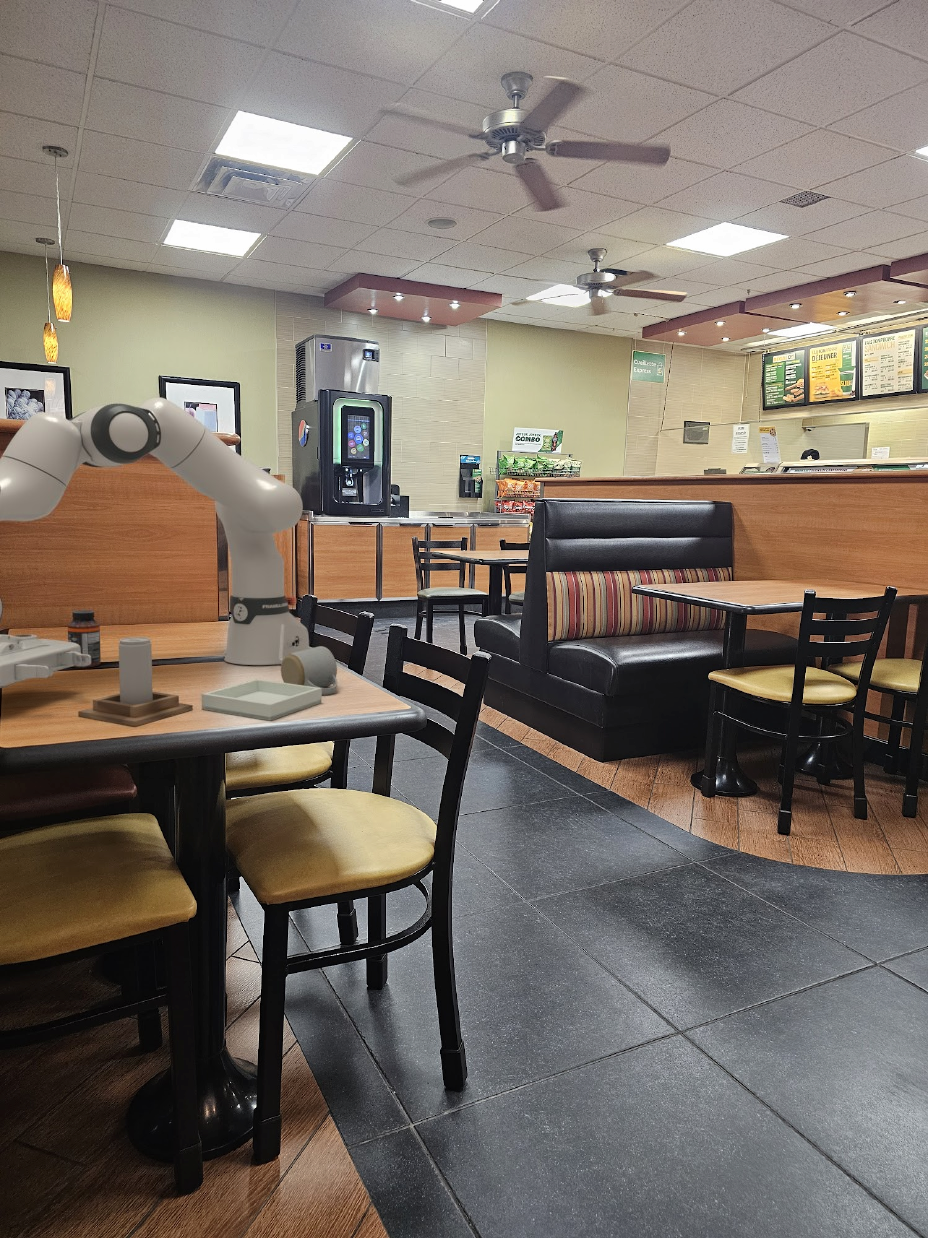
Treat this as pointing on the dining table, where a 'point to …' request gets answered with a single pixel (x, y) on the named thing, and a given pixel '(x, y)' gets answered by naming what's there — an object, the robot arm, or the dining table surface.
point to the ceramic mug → (311, 669)
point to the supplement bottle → (85, 635)
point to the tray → (262, 699)
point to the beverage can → (135, 670)
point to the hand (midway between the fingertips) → (70, 666)
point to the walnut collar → (135, 709)
